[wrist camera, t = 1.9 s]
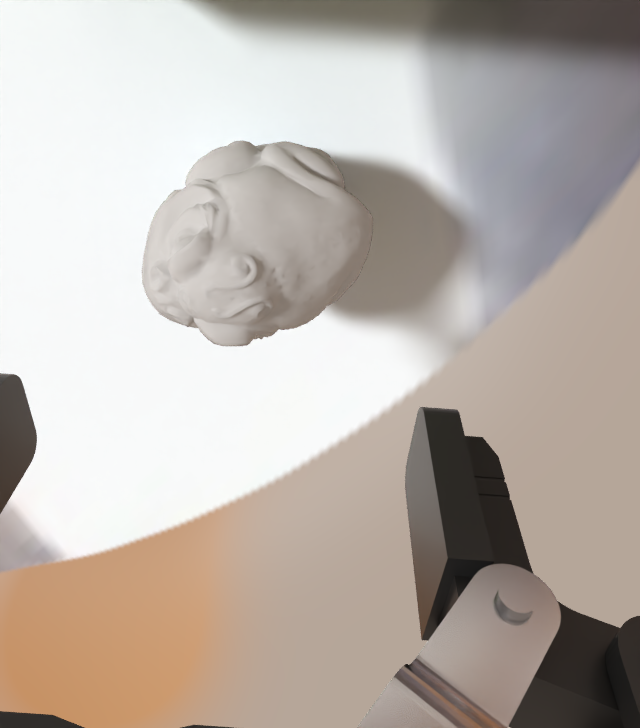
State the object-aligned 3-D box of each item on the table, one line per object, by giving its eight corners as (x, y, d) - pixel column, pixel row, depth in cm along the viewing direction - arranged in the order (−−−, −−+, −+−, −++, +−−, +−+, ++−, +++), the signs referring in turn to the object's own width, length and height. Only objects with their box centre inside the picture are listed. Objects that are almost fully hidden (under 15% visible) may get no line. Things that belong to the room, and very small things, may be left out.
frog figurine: (149, 145, 21) (77, 228, 15) (343, 81, 19) (344, 145, 14) (219, 292, 24) (181, 404, 18) (388, 247, 23) (403, 353, 17)
